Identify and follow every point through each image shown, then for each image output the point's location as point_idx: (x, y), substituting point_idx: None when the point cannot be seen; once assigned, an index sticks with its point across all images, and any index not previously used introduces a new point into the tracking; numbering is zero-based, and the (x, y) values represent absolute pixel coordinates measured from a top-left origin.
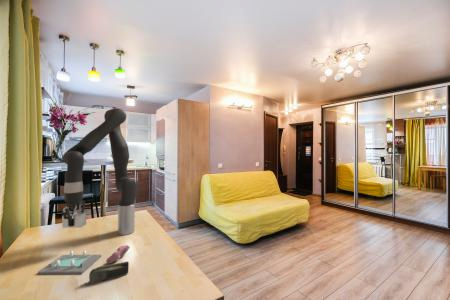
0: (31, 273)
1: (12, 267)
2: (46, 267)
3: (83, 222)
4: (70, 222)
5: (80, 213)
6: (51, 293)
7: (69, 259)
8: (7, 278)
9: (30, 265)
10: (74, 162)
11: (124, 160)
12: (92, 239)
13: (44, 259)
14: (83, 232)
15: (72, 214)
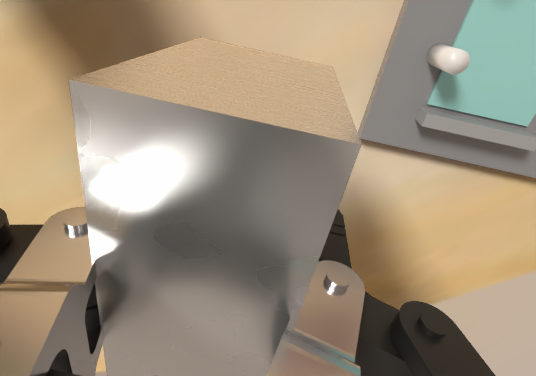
0: (504, 206)
1: (389, 299)
2: (511, 157)
3: (260, 61)
4: (344, 247)
5: (143, 221)
6: None
7: (469, 54)
8: (497, 276)
9: (401, 246)
10: None
11: None
12: (110, 39)
13: (355, 215)
14: (12, 157)
15: (351, 360)
